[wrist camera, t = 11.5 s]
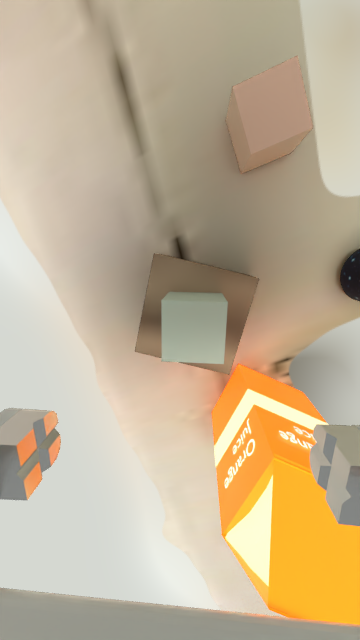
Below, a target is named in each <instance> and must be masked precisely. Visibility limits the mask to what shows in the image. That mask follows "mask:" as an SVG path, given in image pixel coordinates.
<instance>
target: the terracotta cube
mask: <svg viewBox="0 0 360 640" xmlns="http://www.w3.org/2000/svg"><path fill="white" fill-rule="evenodd" d="M226 123H227V127H228V130H229V134H230V137H231V141H232V144H233V148H234V151H235V155H236V158H237V162H238V165H239V169H240V172H241V174H243V173H245V172H247V171H250V170H252V169H254V168H257V167H259V166H262V165H264V164H266V163H269V162H271V161H273V160H276V159H278V158H281V157H283V156H285V155H288V154H290V153H291V152H292V151H293V150H294V149H295V148H296V147H297V146H298V144H299V143H300V142H301V141H302V140H303V139H304V138H305V137H306V135H307V134H308V133H309V132H310V131H311V130H312V129H313V124H312V119H311V115H310V110H309V106H308V101H307V97H306V92H305V87H304V83H303V78H302V74H301V69H300V65H299V60H298V56H295V57H293V58H291V59H289V60H287V61H285V62H283V63H281V64H279V65H276V66H274V67H272V68H270V69H268V70H266V71H264V72H262V73H260V74H258V75H256V76H254V77H251V78H249V79H247V80H245V81H243V82H241V83H239V84H237V85H235V86H233V87H232V92H231V97H230V102H229V107H228V112H227V117H226Z"/></svg>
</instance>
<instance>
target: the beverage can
mask: <svg viewBox="0 0 360 640" xmlns="http://www.w3.org/2000/svg"><path fill="white" fill-rule="evenodd" d="M340 282H341V286H342V288H343V290H344V292H345V293H346V294H347V295H348V296H349V297H351V298H352V299H354V300H357V301H360V249H359V250H357V251H356V252H354V253H353V254H352V255H351V256H350V257H349V258H348V259H347V260H346V262H345V263H344V265H343V267H342V270H341V275H340Z"/></svg>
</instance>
